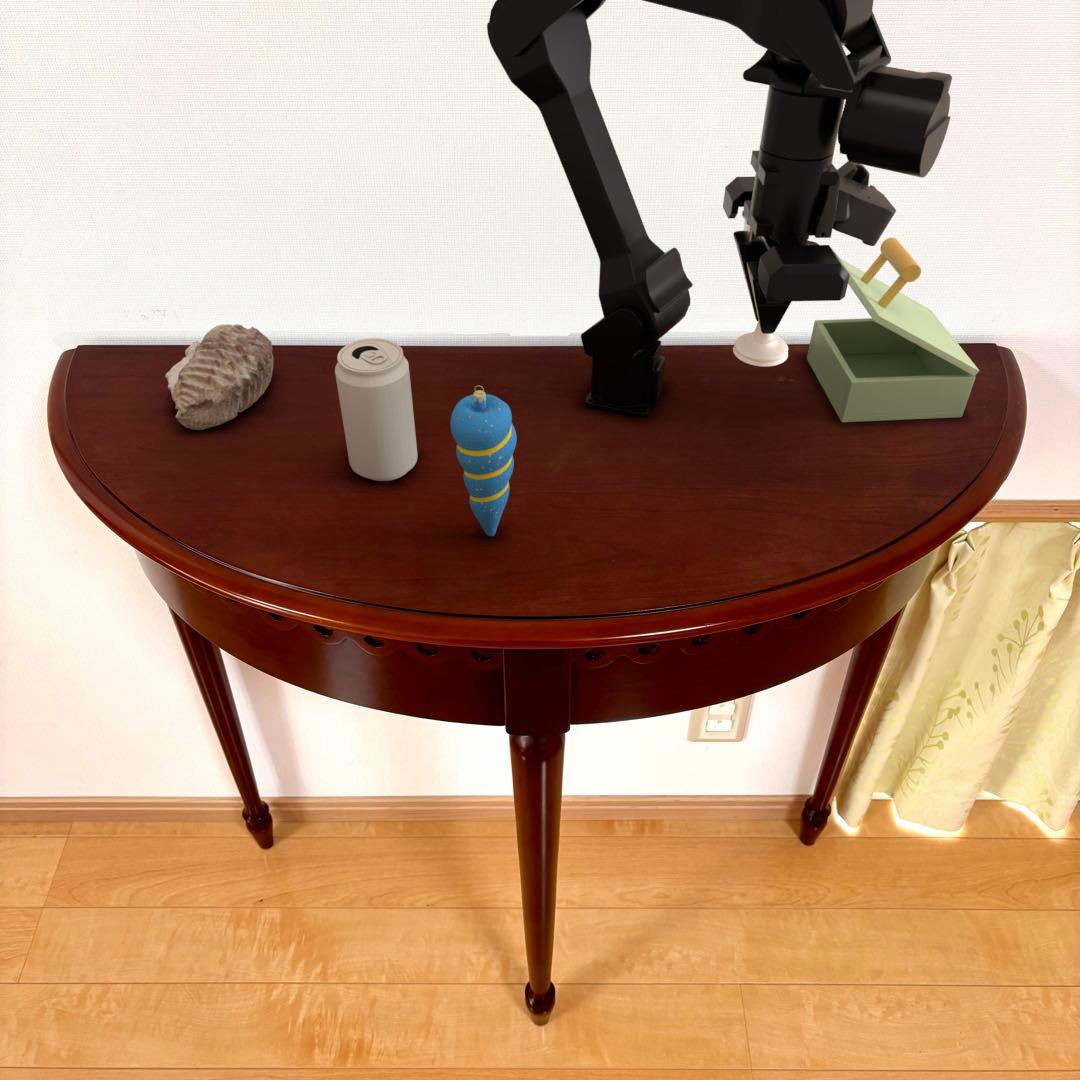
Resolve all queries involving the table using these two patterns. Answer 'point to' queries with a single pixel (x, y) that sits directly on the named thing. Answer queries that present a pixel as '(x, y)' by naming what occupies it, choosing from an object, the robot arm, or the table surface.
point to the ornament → (485, 454)
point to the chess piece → (760, 348)
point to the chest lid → (904, 305)
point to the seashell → (220, 376)
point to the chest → (883, 374)
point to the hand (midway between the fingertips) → (764, 326)
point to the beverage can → (377, 408)
